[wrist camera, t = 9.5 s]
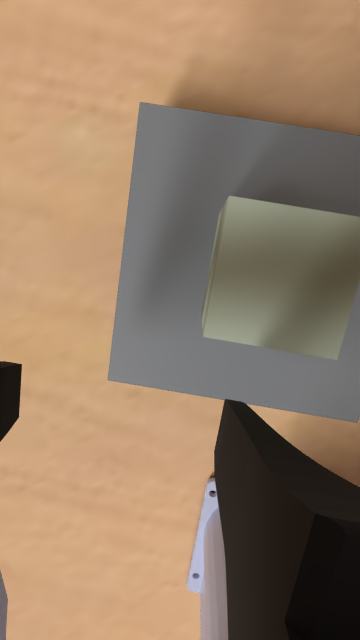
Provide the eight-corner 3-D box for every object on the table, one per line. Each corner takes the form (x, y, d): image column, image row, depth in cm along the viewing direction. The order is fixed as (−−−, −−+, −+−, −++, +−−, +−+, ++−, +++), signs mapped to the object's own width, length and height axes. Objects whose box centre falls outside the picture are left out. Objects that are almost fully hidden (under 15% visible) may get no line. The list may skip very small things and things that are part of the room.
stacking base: (334, 398, 20) (357, 422, 17) (120, 362, 21) (107, 380, 18) (399, 165, 17) (441, 147, 14) (149, 127, 18) (139, 102, 15)
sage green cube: (295, 328, 16) (337, 360, 12) (201, 312, 17) (202, 337, 12) (320, 230, 15) (377, 219, 11) (219, 214, 16) (229, 195, 11)
